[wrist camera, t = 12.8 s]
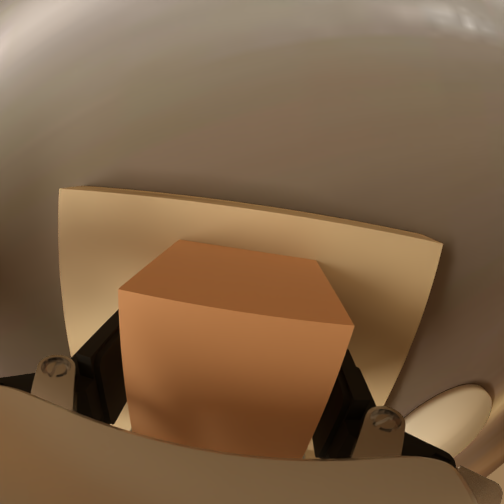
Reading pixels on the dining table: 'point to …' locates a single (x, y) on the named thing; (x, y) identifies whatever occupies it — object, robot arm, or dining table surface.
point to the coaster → (451, 418)
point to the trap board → (250, 238)
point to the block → (230, 348)
